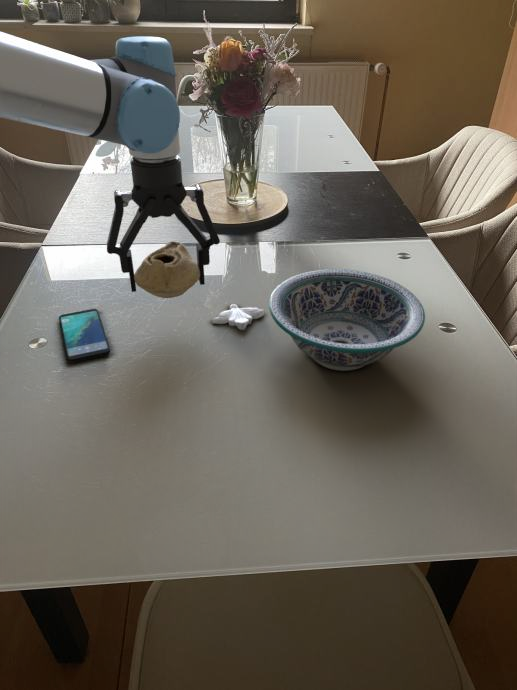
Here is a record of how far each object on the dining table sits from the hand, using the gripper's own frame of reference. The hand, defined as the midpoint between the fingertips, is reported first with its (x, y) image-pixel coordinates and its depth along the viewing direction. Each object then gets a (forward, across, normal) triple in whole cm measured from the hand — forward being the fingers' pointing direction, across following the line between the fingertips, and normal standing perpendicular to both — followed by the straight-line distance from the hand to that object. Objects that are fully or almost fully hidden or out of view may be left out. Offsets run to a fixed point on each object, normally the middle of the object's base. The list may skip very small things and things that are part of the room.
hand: (167, 284), depth 93 cm
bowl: (+9, +28, -14) cm, 32 cm away
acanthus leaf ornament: (+9, +12, 0) cm, 15 cm away
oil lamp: (+1, 0, 0) cm, 1 cm away
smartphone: (+9, -16, 0) cm, 18 cm away
